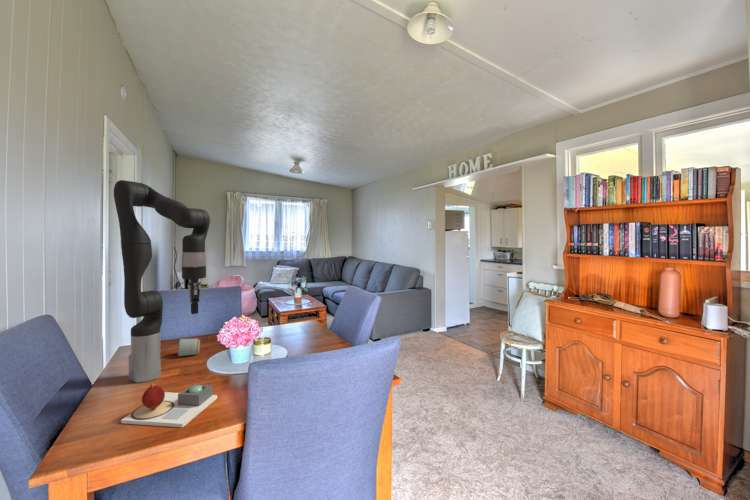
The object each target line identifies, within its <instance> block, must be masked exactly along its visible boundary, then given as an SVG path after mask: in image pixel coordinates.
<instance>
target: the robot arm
mask: <svg viewBox="0 0 750 500" xmlns="http://www.w3.org/2000/svg"><path fill="white" fill-rule="evenodd" d="M113 199H114V205H115V210H116V214H117V219H118V225H119V233H120V234H119V235H120V248H121V257H122V267H123V280H124V281H123V282H124V284H123V285H124V289H123V304H124V310H125V313H126V315H127V316H128V317H129V318H131V319H136V318H142V317H143V318H142V319H141V320H140V321H139V322H138V323H136V324H134V325H133V326H132V327H131V328H130V354H129V355H128V381H131V382H133V383H146V382H150V381H153V380H157V379H158V378H160V377H161V375H162V369H161V368H162V358H161V356H162V355H161V327H162V324H163V309H164V304H163V303H164V301H163V298H162V295H161V294H162V293H160V292H159V291H158V290H155V289H154V290H152V289H151V290H146V291H142V290H141V289H142V285H141V284H142V280H143V279H142V278H143V276H144V274H145V272H146V270H147V269H148V267H149V265H150V263H151V261H152V259H153V248H152V240H151V237H150V236H149V234H148V233H147V231H146V230H145V229H144V227H143V226H142V225H141V224H140V223H139V221H138V219H137V217H136V214H135V209H134V207H138V208H139V207H140V208H141V207H146V208H151V209H154V211H155V212H156V213H157V214H159V215H160V216H162V217H164V218H166V219H168V220H171V221H172V222H174V223H175V224H176V225H177V226H178V227H181V228H184V229H192V232H191V233H190V234H187V235H184V236H183V237H182V241H181V242H182V243H181V244H182V248H181V249H182V256H181V278H182V280H190V281H189V282H188V283H187V289H188V297H189V303H190V314H192V315H197V314H198V313H199V303H200V297H201V288H202V283H201V282H199V280H200V279H205V278H207V256H206V238H207V236H208V231H209V229H210V224H211V218H210V217H211V216H210V215H209V212H207V211H206V210H205V209H201V208H192V207H187V205H186V204H184V203H182V202H180V201H178V200H174V199H172V198H170V197H168V196H165V195H163V194H162V193H160V192H158V191H156V190H155V189H154V188H152V187H151V186H150V185H148V184H145V183H142V182H138V181H131V180H124V179H120V180H117V182H115V184H114V187H113Z"/></svg>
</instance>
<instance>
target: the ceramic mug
mask: <svg viewBox="0 0 750 500" xmlns="http://www.w3.org/2000/svg"><path fill="white" fill-rule="evenodd" d="M200 348H201V340H200V339H199V338H180V339H179V342H178V348H177V349H178V350H177V352H178V353H177V355H178V357H188V356H195V355H198V354H199V353H200V350H201V349H200Z"/></svg>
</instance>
